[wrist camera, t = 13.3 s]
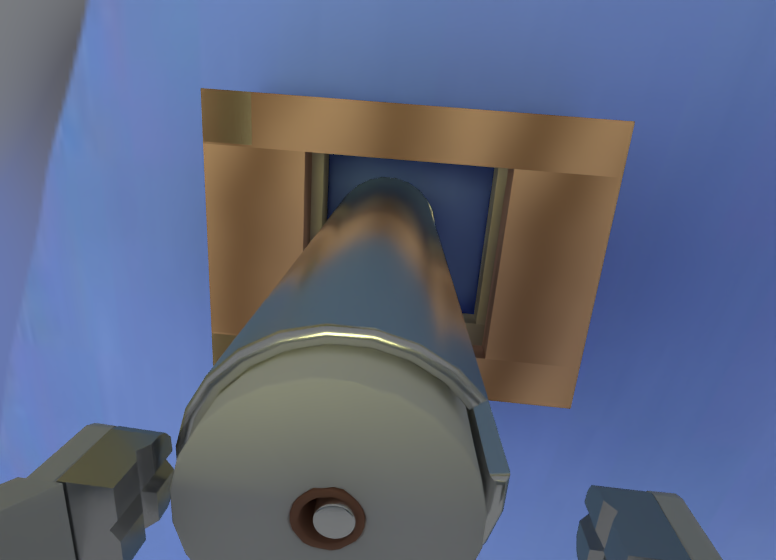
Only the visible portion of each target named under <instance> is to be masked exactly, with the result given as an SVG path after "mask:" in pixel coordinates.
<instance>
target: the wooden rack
mask: <svg viewBox="0 0 776 560" xmlns="http://www.w3.org/2000/svg"><path fill="white" fill-rule="evenodd" d="M201 106H202V128H203V150H204V172H205V194H206V216H207V238H208V260H209V282H210V305H211V327H212V349H213V366H214V365H215V363H216V362H217V361H218V360H219V358H220V357H221V356H222V355H223V353H224V352H225V351H226V349H227V348H228V347H229V346H230V344H231V343H232V342H233V340H234V339H235V338H236V337H237V335H238V334H239V333H240V331H241V330H242V329H243V328H244V326H245V325H246V324H247V322H248V321H249V320H250V319H251V317H252V316H253V315H254V314H255V312H256V311H257V310H258V308H259V307H260V306H261V305H262V303H263V302H264V301H265V299H266V298H267V297H268V296H269V294H270V293H271V292H272V290H273V289H274V288H275V287H276V285H277V284H278V283H279V282H280V280H281V279H282V278H283V276H284V275H285V274H286V273H287V271H288V270H289V269H290V267H291V266H292V265H293V264H294V262H295V261H296V260H297V258H298V257H299V256H300V255H301V253H302V252H303V251H304V250H305V248H306V247H307V246H308V244H309V243H310V242H311V241H312V239H313V238H314V237H315V235H316V234H317V233H318V232H319V230H320V229H321V228H322V226H323V225H324V224H325V223H326V221H327V201H328V172H329V154H338V155H350V156H362V157H374V158H387V159H399V160H411V161H423V162H435V163H447V164H460V165H472V166H484V167H495V168H494V175H493V182H492V189H491V196H490V203H489V210H488V217H487V224H486V232H485V239H484V246H483V253H482V260H481V267H480V274H479V281H478V288H477V295H476V302H475V309H474V314H465V313H462V315H463V318H464V321H465V324H466V328H467V331H468V334H469V337H470V341H471V344H472V347H473V351H474V354H475V357H476V360H477V364H478V367H479V370H480V373H481V377H482V380H483V383H484V386H485V390H486V393H487V396H488V400H491V401H501V402H511V403H520V404H530V405H540V406H549V407H559V408H569V409H570V408H571V404H572V399H573V395H574V391H575V386H576V382H577V377H578V373H579V368H580V364H581V359H582V355H583V350H584V346H585V342H586V337H587V333H588V328H589V324H590V319H591V315H592V310H593V306H594V302H595V297H596V293H597V288H598V284H599V279H600V275H601V270H602V266H603V262H604V257H605V253H606V248H607V244H608V239H609V235H610V230H611V226H612V221H613V217H614V213H615V208H616V204H617V199H618V195H619V190H620V186H621V181H622V177H623V173H624V168H625V164H626V159H627V155H628V150H629V146H630V141H631V137H632V132H633V128H634V124H635V122H633V121H620V120H607V119H594V118H581V117H568V116H555V115H542V114H529V113H516V112H503V111H490V110H477V109H464V108H451V107H438V106H425V105H412V104H399V103H386V102H373V101H360V100H347V99H334V98H321V97H308V96H295V95H282V94H269V93H256V92H243V91H230V90H217V89H204V88H201Z"/></svg>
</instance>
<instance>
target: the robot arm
mask: <svg viewBox="0 0 776 560" xmlns="http://www.w3.org/2000/svg"><path fill="white" fill-rule="evenodd" d="M171 452H172V444H171V437H170V436H169V435H168V434H166V433H163V432H156V431H150V430H143V429H136V428H129V427H122V426H113V425H106V424H99V423H93V424H90V425H86V426H85V427H84V428H83V429H82V430H81V431H80V432H78V433H77V434H76V435H75V436H74V437H73V438H72V439H70V440H69V441H68V442H67V443H66V444H65V445H64V446H62V447H61V448H60V449H59V450H58V451H57V452H56V453H54V454H53V455H52V456H51V457H50V458H49V459H48V460H46V461H45V462H44V463H43V464H42V465H41V466H40V467H38V468H37V469H36V470H35V471H34V472H33V473H31V474H30V475H29V476H28V477H27V478H19V477H17V478H15V479H12V480H10V481H8V482H5V483H3V484H0V560H132V559H133V558H134V556H135V555H136V553H137V552H138V550H139V549H140V548H141V546H142V545H143V543H144V542H145V540H146V536H145V528H147V527H149V526H150V525H152V524H154V523H155V522H157V521H159V520H160V518H161V517H162V515H163V514H164V512H165V511H166V509H167V507H168V505H169V502H170V499H171V496H170V486H171V482H172V478H173V474H174V469H173V468H172V466H171V465H170V464H169V463H168V461H167V460H166V458H167V457H168V456H169V455H170V453H171ZM585 505H586V507H587V510H588V512H589V514H588V515H587V516H585V517H584V518H583V519H581V520H580V521H579V526H578V531H577V535H576V552H577V557H578V560H723V559H722V558H721V556H720V555H719V553H718V552H717V550H716V549H715V547H714V546H713V544H712V543H711V541H710V540H709V538H708V537H707V535H706V534H705V532H704V531H703V529H702V528H701V526H700V525H699V523H698V522H697V520H696V519H695V517H694V516H693V514H692V513H691V511H690V510H689V508H688V507H687V505H686V504H685V502H684V501H683V499H682V498H681V497H680V496H678V495H677V494H675V493H665V492H655V491H646V492H645V491H638V490H630V489H621V488H613V487H604V486H595V485H591V487H590V488H589V490H588V491H587V495H586V498H585Z"/></svg>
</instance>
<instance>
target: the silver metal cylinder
mask: <svg viewBox="0 0 776 560" xmlns="http://www.w3.org/2000/svg"><path fill="white" fill-rule="evenodd" d="M176 457H177V461H176V465H175V470H174V474H173V478H172V482H171V486H170V496H171V508H172V520H173V524H174V526H175V529H176V531H177V534H178V536H179V539H180V541H181V543H182V546H183V548H184V551H185V553H186V555H187V556H188V557H189V558H190V559H191V560H476V558H477V556H478V554H479V553H480V551H481V549H482V546H483V545H484V544H485V543H486V541H487V540H488V538H489V536H490V534H491V532H492V530H493V528H494V527H495V525H496V523H497V521H498V519H499V517H500V515H501V514H502V512H503V509H504V504H505V499H506V493H507V488H508V483H509V477H510V469H509V466H508V463H507V460H506V456H505V453H504V450H503V447H502V443H501V440H500V437H499V433H498V430H497V427H496V424H495V420H494V417H493V414H492V410H491V407H490V404H489V401H488V396H487V393H486V390H485V386H484V383H483V380H482V377H481V373H480V370H479V367H478V364H477V360H476V357H475V354H474V351H473V347H472V344H471V341H470V337H469V334H468V331H467V328H466V324H465V321H464V318H463V315H462V311H461V308H460V305H459V302H458V298H457V295H456V292H455V288H454V285H453V282H452V279H451V275H450V272H449V269H448V266H447V262H446V259H445V256H444V253H443V249H442V246H441V243H440V239H439V236H438V233H437V230H436V226H435V222H434V216H433V211H432V209H431V207H430V205H429V202H428V200H427V199H426V198H425V197H424V195H423V194H422V193H421V192H420V190H418V189H417V188H416V187H414V186H413V185H411V184H410V183H408V182H406V181H403V180H400V179H398V178H391V177H379V178H374V179H369V180H367V181H365V182H363V183H361V184H359V185H357V186H356V187H355V188H354V189H353V190H352V191H351V192H349V193H348V194H347V196H346V197H345V198H344V200H343V201H342V202H341V203H340V205H339V206H338V207H337V209H336V210H335V211H334V212H333V214H332V215H331V216H330V218H329V219H328V220H327V221H326V223H325V224H324V225H323V226H322V228H321V229H320V230H319V232H318V233H317V234H316V235H315V237H314V238H313V239H312V241H311V242H310V243H309V244H308V246H307V247H306V248H305V250H304V251H303V252H302V253H301V255H300V256H299V257H298V258H297V260H296V261H295V262H294V264H293V265H292V266H291V267H290V269H289V270H288V271H287V273H286V274H285V275H284V276H283V278H282V279H281V280H280V282H279V283H278V284H277V285H276V287H275V288H274V289H273V290H272V292H271V293H270V294H269V296H268V297H267V298H266V299H265V301H264V302H263V303H262V305H261V306H260V307H259V308H258V310H257V311H256V312H255V314H254V315H253V316H252V317H251V319H250V320H249V321H248V322H247V324H246V325H245V326H244V328H243V329H242V330H241V331H240V333H239V334H238V335H237V337H236V338H235V339H234V340H233V342H232V343H231V344H230V346H229V347H228V348H227V349H226V351H225V352H224V353H223V355H222V356H221V357H220V358H219V360H218V361H217V362H216V363H215V365H214V366H213V367H212V369H211V370H210V371H209V372H208V374H207V375H206V377H205V378H204V380H203V381H202V383H201V384H200V386H199V388H198V389H197V391H196V392H195V394H194V395H193V397H192V399H191V400H190V402H189V403H188V405H187V406H186V408H185V412H184V416H183V420H182V424H181V428H180V432H179V436H178V440H177V444H176Z"/></svg>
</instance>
